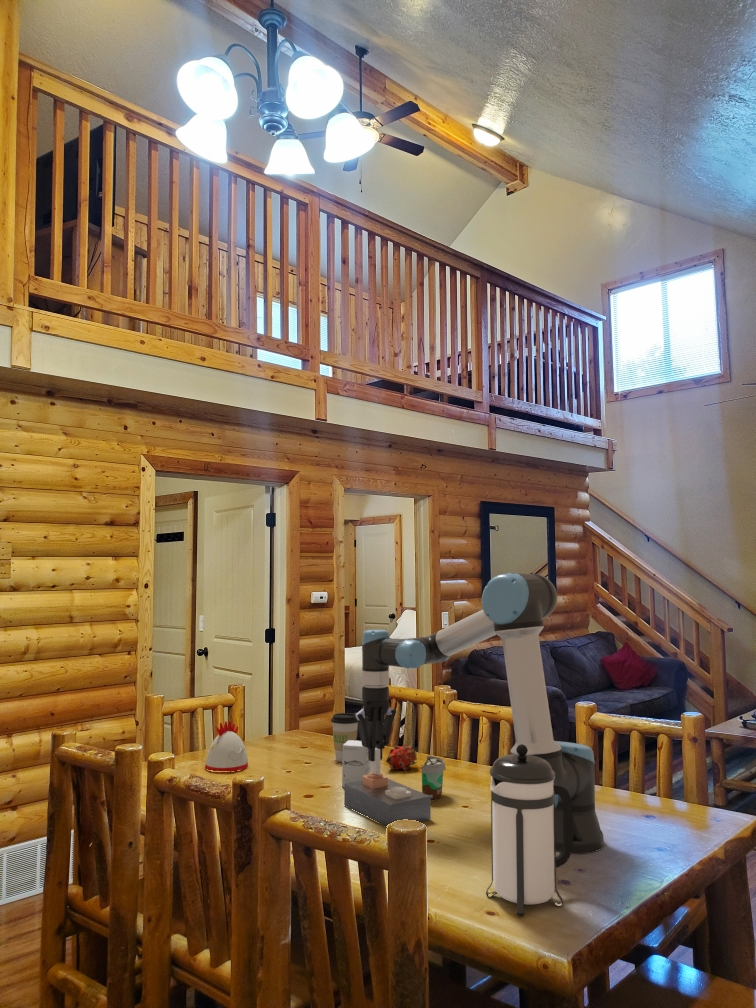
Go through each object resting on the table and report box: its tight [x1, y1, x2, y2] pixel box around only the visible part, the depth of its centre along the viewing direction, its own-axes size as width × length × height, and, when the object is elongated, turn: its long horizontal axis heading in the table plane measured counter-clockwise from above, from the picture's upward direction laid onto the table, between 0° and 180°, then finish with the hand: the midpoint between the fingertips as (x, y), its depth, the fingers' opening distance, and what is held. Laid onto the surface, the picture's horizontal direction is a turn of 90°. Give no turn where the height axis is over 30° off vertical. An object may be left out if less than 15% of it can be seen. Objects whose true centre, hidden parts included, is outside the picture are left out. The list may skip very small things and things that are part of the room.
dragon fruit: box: [385, 743, 417, 772], centre depth 238 cm, size 8×8×12 cm
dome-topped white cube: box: [385, 787, 411, 799], centre depth 190 cm, size 5×5×7 cm
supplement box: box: [341, 740, 371, 788], centre depth 220 cm, size 7×7×13 cm
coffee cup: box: [330, 712, 359, 763], centre depth 251 cm, size 10×10×15 cm
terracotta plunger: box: [362, 772, 389, 789], centre depth 199 cm, size 5×5×7 cm
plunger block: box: [343, 778, 432, 828], centre depth 195 cm, size 22×13×6 cm, turn 34°
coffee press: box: [485, 744, 573, 917], centre depth 145 cm, size 17×16×30 cm
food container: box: [421, 755, 446, 802], centre depth 209 cm, size 12×6×10 cm, turn 168°
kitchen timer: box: [204, 720, 249, 771], centre depth 240 cm, size 14×14×15 cm
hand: (375, 772), depth 200 cm, fingers closed
